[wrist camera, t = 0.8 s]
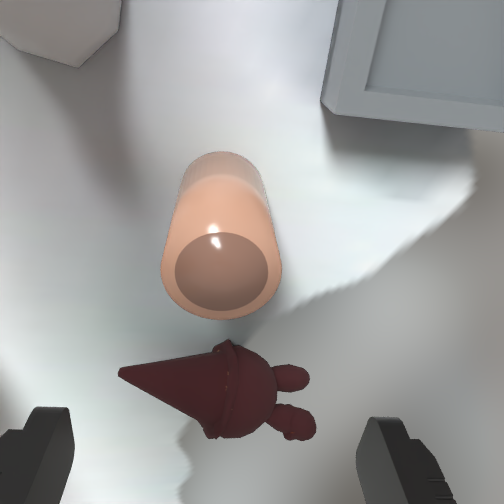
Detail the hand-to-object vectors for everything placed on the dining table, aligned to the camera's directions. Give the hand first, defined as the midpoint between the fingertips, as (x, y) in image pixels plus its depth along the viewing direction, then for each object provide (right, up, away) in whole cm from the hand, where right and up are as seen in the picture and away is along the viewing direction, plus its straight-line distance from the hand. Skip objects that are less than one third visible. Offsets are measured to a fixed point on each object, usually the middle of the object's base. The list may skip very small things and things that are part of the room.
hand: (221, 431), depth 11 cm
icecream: (-1, -3, +22) cm, 22 cm away
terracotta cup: (-1, +9, +14) cm, 17 cm away
